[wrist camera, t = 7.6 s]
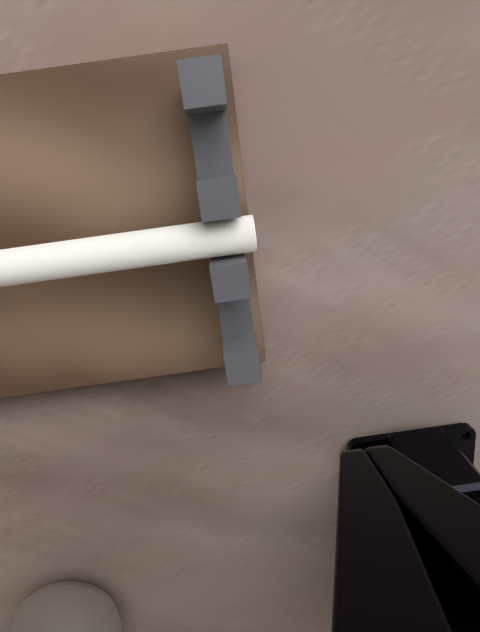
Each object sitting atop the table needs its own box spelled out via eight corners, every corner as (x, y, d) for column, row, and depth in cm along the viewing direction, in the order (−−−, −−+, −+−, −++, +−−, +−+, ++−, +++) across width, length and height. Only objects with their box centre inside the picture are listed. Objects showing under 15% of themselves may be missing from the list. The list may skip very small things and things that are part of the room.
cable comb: (254, 341, 18) (262, 382, 15) (226, 345, 18) (228, 386, 15) (219, 78, 14) (220, 53, 11) (185, 83, 14) (176, 59, 11)
